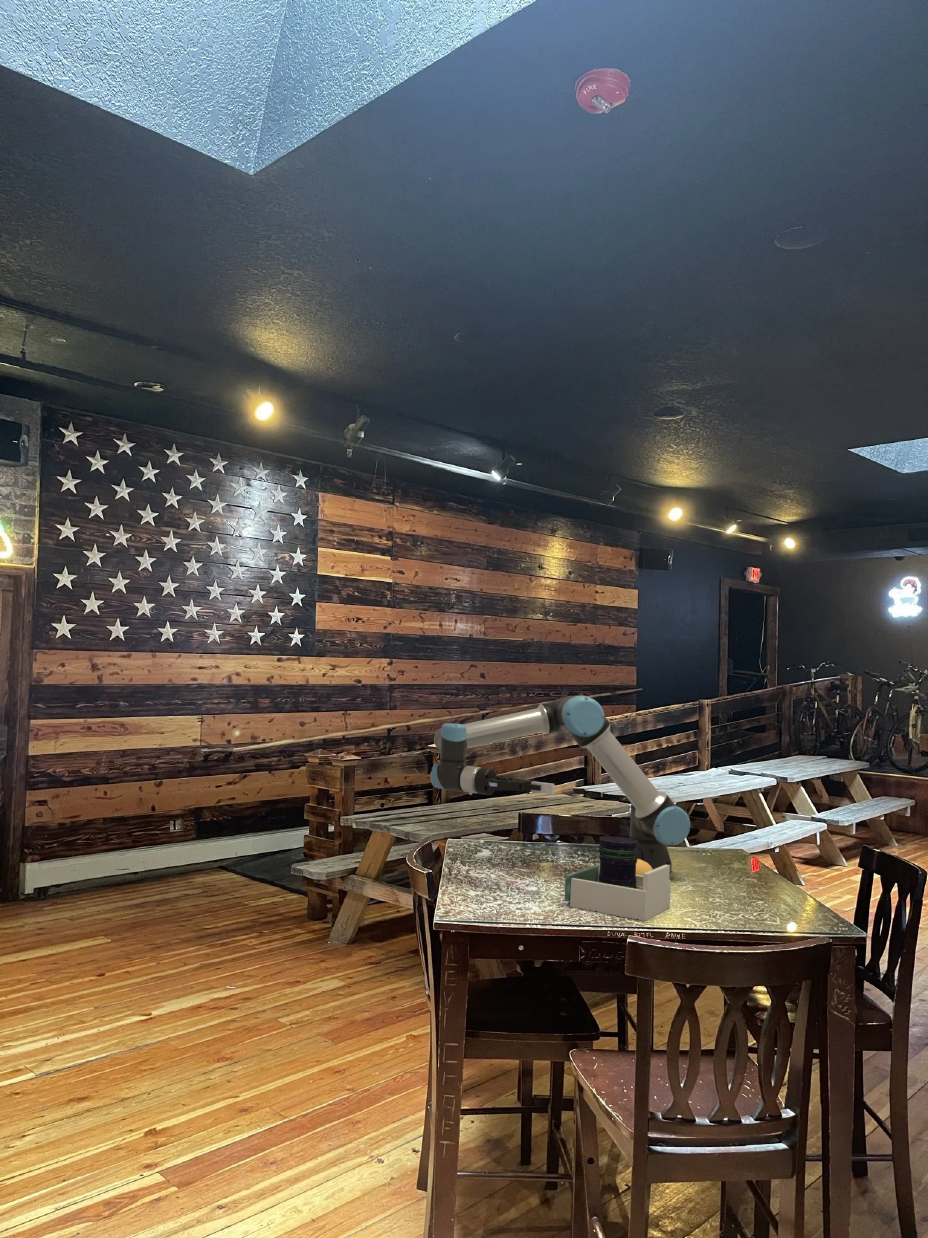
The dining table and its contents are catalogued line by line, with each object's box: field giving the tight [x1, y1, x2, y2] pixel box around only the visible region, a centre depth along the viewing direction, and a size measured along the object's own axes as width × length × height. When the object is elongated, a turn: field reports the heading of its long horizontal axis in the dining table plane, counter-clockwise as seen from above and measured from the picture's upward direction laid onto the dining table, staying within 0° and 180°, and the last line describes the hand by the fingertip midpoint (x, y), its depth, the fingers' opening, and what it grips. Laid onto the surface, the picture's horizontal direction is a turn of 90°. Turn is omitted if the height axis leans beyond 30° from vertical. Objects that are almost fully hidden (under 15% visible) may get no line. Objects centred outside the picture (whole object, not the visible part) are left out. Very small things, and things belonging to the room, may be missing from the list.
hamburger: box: [636, 859, 653, 876], centre depth 246 cm, size 12×12×9 cm
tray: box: [564, 865, 643, 902], centre depth 225 cm, size 20×18×6 cm
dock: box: [569, 865, 672, 922], centre depth 225 cm, size 20×18×11 cm
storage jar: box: [598, 835, 638, 889], centre depth 226 cm, size 10×10×15 cm
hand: (553, 789), depth 238 cm, fingers closed
